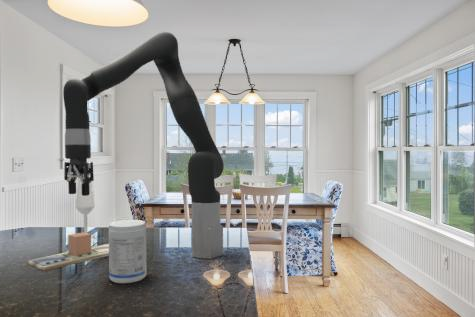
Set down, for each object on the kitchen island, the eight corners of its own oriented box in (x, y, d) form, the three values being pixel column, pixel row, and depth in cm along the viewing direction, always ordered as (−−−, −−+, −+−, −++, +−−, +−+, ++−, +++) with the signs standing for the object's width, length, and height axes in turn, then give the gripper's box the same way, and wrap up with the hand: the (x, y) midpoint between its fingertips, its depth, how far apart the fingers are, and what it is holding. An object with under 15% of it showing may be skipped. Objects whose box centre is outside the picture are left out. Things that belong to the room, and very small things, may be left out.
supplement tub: (113, 273, 104) (113, 219, 104) (149, 271, 105) (148, 219, 105) (105, 285, 95) (104, 226, 95) (143, 283, 96) (143, 225, 96)
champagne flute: (97, 238, 148) (97, 176, 148) (90, 242, 141) (90, 177, 141) (80, 238, 148) (79, 176, 148) (73, 242, 141) (72, 177, 141)
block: (91, 253, 121) (90, 234, 121) (75, 256, 118) (75, 237, 117) (83, 250, 125) (83, 232, 124) (68, 253, 121) (68, 234, 121)
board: (127, 251, 127) (127, 247, 127) (44, 270, 107) (43, 266, 107) (108, 245, 135) (108, 242, 135) (26, 263, 115) (26, 258, 115)
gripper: (100, 143, 119) (101, 195, 119) (78, 144, 128) (79, 192, 128) (77, 143, 113) (78, 197, 113) (55, 144, 122) (56, 194, 122)
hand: (78, 194), depth 121 cm, fingers open, 8 cm apart
